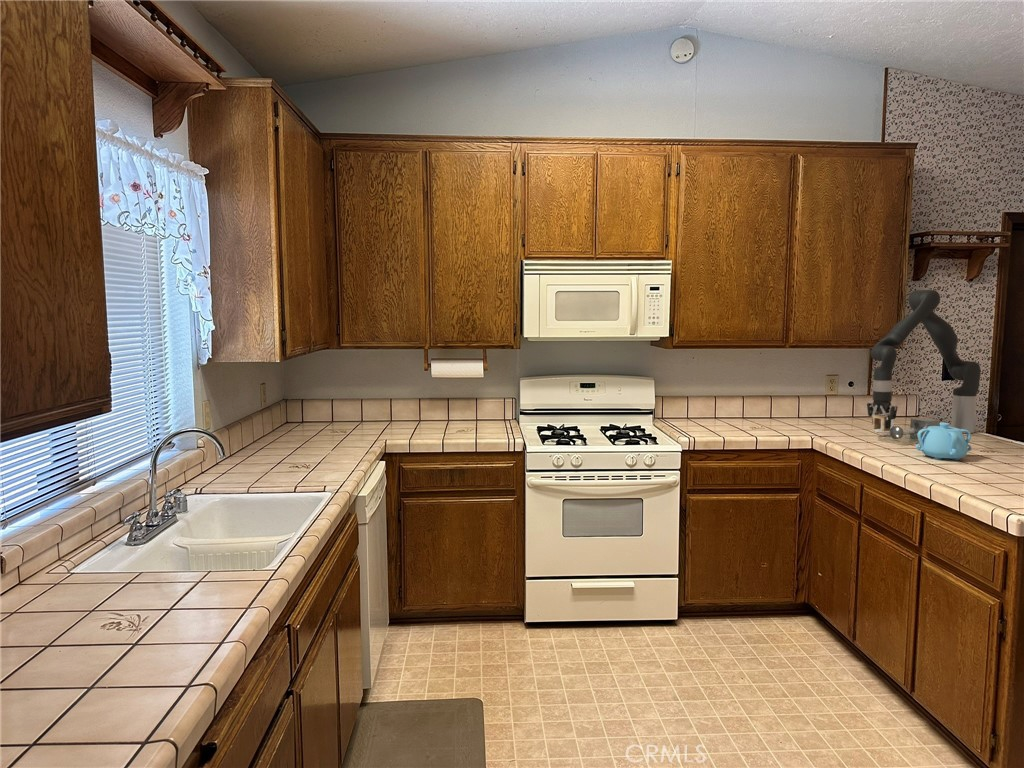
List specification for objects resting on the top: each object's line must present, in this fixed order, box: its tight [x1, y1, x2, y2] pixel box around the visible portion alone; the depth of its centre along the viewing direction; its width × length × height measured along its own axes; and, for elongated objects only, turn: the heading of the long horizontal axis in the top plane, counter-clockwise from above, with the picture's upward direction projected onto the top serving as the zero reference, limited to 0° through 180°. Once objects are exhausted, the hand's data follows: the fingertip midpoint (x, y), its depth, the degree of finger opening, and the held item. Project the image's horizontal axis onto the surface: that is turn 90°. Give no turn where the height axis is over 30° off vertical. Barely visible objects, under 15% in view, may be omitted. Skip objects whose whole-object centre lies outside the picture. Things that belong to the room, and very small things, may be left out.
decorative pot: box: [915, 422, 972, 461], centre depth 259 cm, size 16×16×14 cm
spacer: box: [872, 414, 890, 431], centre depth 300 cm, size 4×6×7 cm
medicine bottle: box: [871, 410, 895, 434], centre depth 315 cm, size 7×7×12 cm
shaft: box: [889, 425, 923, 439], centre depth 293 cm, size 18×6×6 cm, turn 112°
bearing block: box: [877, 417, 941, 446], centre depth 293 cm, size 26×12×9 cm, turn 111°
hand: (881, 427), depth 300 cm, fingers closed on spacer, 5 cm apart
